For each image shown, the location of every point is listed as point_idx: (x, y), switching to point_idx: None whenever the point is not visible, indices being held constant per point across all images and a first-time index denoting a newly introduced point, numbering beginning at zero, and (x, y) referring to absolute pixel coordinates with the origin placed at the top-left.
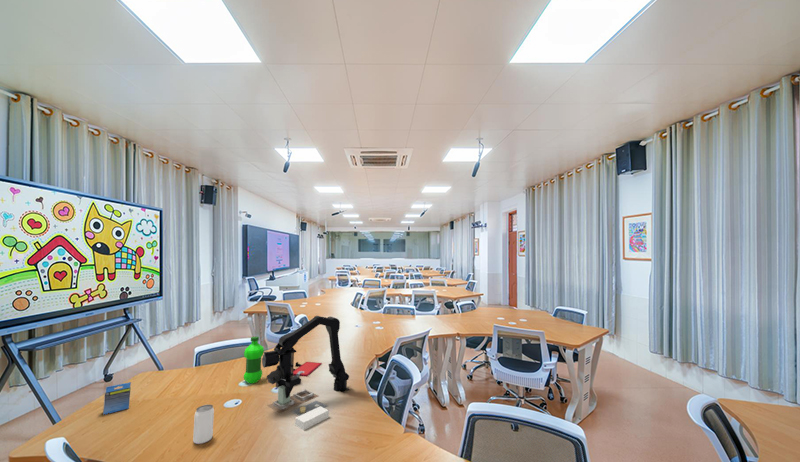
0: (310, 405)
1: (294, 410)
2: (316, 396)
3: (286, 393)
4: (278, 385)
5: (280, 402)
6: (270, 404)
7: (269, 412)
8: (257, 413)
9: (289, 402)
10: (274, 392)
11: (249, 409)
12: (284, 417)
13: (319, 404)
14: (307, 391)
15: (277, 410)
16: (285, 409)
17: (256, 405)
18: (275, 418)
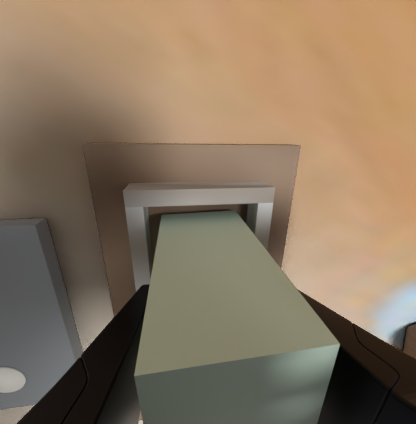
0: (40, 354)
1: (38, 251)
2: (140, 411)
3: (105, 330)
4: (387, 369)
5: (198, 222)
6: (293, 176)
7: (207, 114)
8: (278, 28)
9: (149, 277)
10: (410, 283)
11: (398, 27)
12: (19, 150)
13: (11, 392)
14: None
15: (147, 157)
16: (113, 212)
17: (394, 112)
18: (56, 83)
